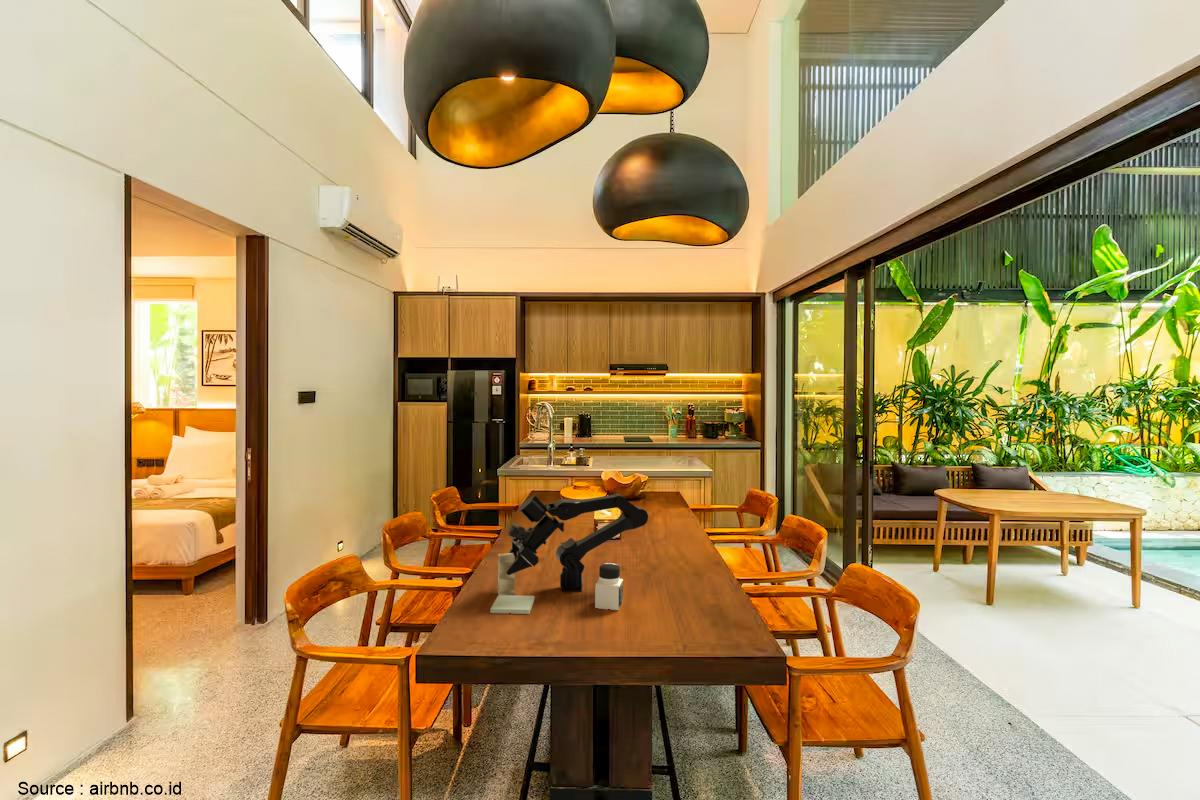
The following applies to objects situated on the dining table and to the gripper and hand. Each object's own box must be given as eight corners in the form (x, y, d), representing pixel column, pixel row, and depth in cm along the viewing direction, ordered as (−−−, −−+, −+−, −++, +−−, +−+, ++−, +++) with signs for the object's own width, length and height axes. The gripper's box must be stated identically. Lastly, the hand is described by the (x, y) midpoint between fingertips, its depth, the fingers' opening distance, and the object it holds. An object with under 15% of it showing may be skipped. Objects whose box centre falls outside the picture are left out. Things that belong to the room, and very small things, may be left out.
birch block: (512, 591, 182) (512, 553, 182) (514, 596, 177) (515, 557, 177) (497, 592, 180) (498, 553, 180) (499, 597, 176) (499, 558, 176)
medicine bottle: (619, 610, 166) (619, 569, 166) (594, 608, 168) (595, 567, 168) (623, 602, 173) (623, 562, 173) (599, 600, 175) (600, 560, 175)
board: (534, 599, 174) (534, 595, 174) (529, 613, 163) (529, 609, 163) (498, 599, 174) (498, 595, 174) (490, 613, 163) (490, 608, 163)
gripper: (519, 508, 189) (484, 544, 186) (528, 521, 171) (490, 561, 168) (542, 531, 191) (508, 567, 188) (554, 546, 173) (516, 585, 170)
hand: (505, 569), depth 179 cm, fingers open, 9 cm apart
